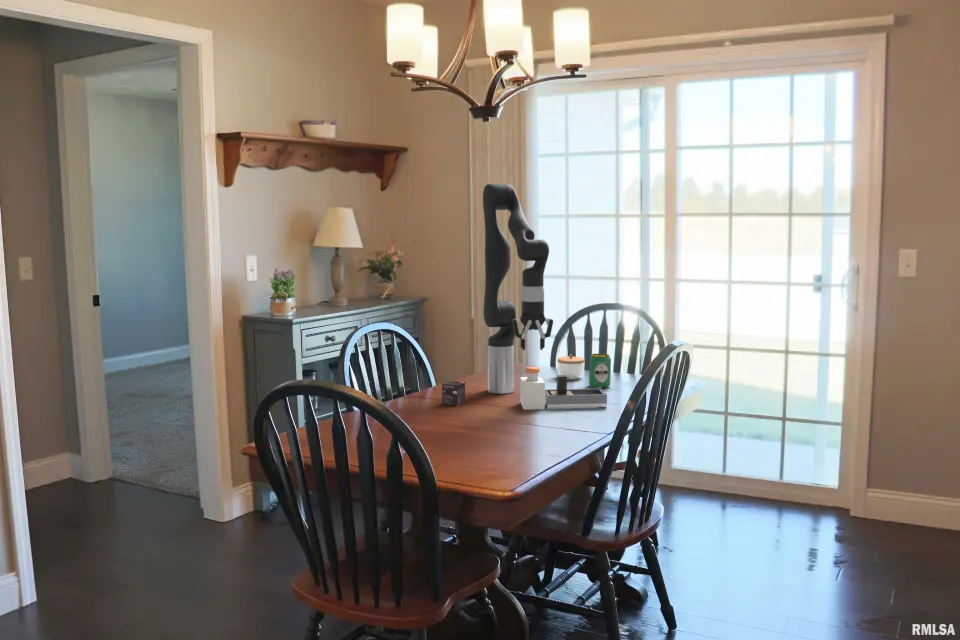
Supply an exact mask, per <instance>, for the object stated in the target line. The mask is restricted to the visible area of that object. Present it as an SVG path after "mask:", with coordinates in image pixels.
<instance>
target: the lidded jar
mask: <svg viewBox="0 0 960 640" xmlns="http://www.w3.org/2000/svg"><path fill="white" fill-rule="evenodd" d="M556 360H557V369H558V372H559V375H566V376H567V380H578V379H579V377H581V376H582V375H583V372H584V369H585V362H586V361H585V360H586V359H585V358H584V357H580V356H573V354H569V356H561V357H557V359H556Z"/></svg>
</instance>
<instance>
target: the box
mask: <svg viewBox="0 0 960 640" xmlns="http://www.w3.org/2000/svg"><path fill="white" fill-rule="evenodd" d="M465 402H466V382H465V381H464V382H463V381H457V380H449V381H445V382H442V383H441V404H442V405H446V406H454V407H458V406H461V405H462V404H465Z"/></svg>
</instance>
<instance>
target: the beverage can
mask: <svg viewBox="0 0 960 640" xmlns="http://www.w3.org/2000/svg"><path fill="white" fill-rule="evenodd" d="M588 361H589V362H588V363H589V365H588V366H589V367H588V369H589V370H588V384H589V387H590V386H592V387H591V388H593V387H608V386H609V387H610V385H611V376H612V375H611V373H612V372H611V370H612V367H611V366H612V359H611V357H610V354H607V353H591V354H590V357H589V359H588ZM609 387H608V388H609Z"/></svg>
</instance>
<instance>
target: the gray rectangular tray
mask: <svg viewBox="0 0 960 640" xmlns="http://www.w3.org/2000/svg"><path fill="white" fill-rule="evenodd" d="M550 391H557V388H556V389H545V408H546V409H548V410H559V409H560V410H564V409H566V410H567V409H572V410H573V409H574V408H578V409H598V408H597V407H607V406H608V394H607V393H606V392H605V391H604V390H603V388H567V391H571V393H572V394H573V395H550ZM607 408H608V407H607Z"/></svg>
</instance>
